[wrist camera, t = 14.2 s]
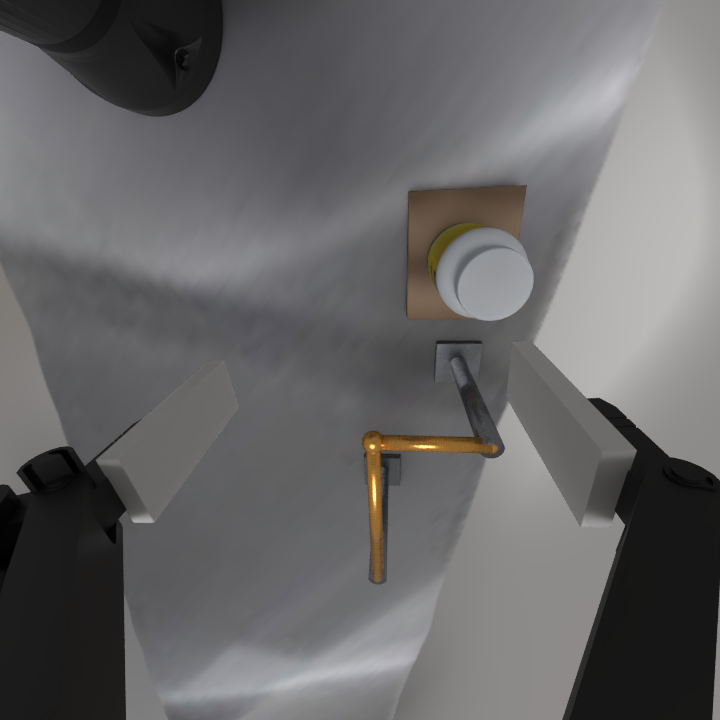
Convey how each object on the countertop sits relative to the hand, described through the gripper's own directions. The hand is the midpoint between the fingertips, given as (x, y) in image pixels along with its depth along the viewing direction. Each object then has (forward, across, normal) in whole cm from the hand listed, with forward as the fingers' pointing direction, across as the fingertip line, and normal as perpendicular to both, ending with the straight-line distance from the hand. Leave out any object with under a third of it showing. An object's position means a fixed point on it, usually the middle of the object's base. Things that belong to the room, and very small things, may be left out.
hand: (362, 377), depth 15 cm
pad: (+22, +8, +1) cm, 24 cm away
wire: (+22, +3, -19) cm, 29 cm away
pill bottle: (+20, +8, +1) cm, 22 cm away
